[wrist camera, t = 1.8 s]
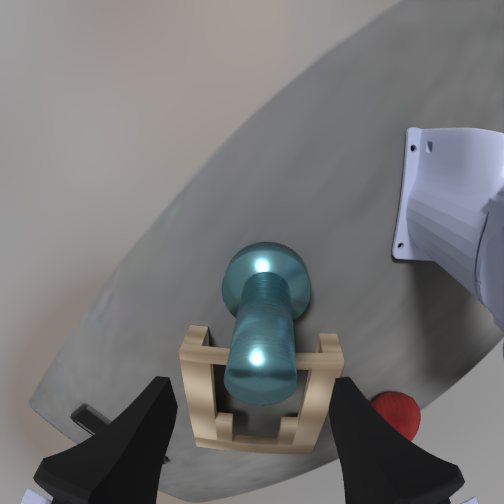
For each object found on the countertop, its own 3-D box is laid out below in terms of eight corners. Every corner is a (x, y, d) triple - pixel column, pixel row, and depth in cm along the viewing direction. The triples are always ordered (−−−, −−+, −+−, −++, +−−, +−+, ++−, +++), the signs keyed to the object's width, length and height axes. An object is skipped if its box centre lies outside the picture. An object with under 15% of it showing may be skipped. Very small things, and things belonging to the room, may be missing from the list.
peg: (225, 239, 20) (185, 323, 11) (312, 244, 20) (342, 332, 10) (226, 312, 22) (199, 414, 13) (303, 317, 22) (316, 421, 12)
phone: (145, 468, 34) (68, 417, 31) (146, 463, 35) (71, 412, 32) (170, 462, 32) (83, 405, 28) (171, 456, 33) (86, 399, 29)
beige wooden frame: (190, 324, 23) (178, 351, 19) (336, 333, 22) (344, 361, 19) (202, 421, 28) (196, 446, 24) (309, 428, 27) (311, 453, 24)
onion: (358, 416, 26) (370, 475, 18) (354, 386, 24) (371, 452, 17) (406, 401, 25) (427, 455, 18) (409, 368, 23) (437, 428, 16)
